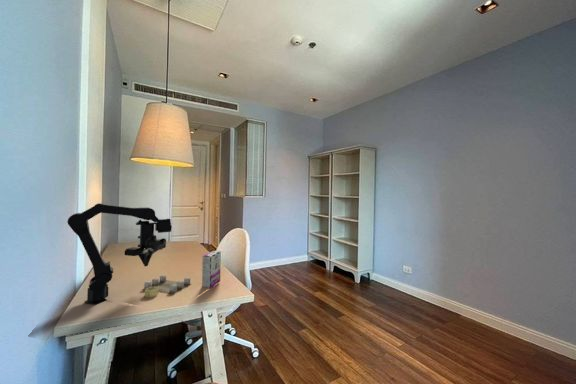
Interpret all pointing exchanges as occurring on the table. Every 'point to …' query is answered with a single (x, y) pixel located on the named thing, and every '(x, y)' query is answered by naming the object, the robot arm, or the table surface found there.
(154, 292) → the hexagonal box
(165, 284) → the board
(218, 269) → the candy bar box
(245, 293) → the table surface
